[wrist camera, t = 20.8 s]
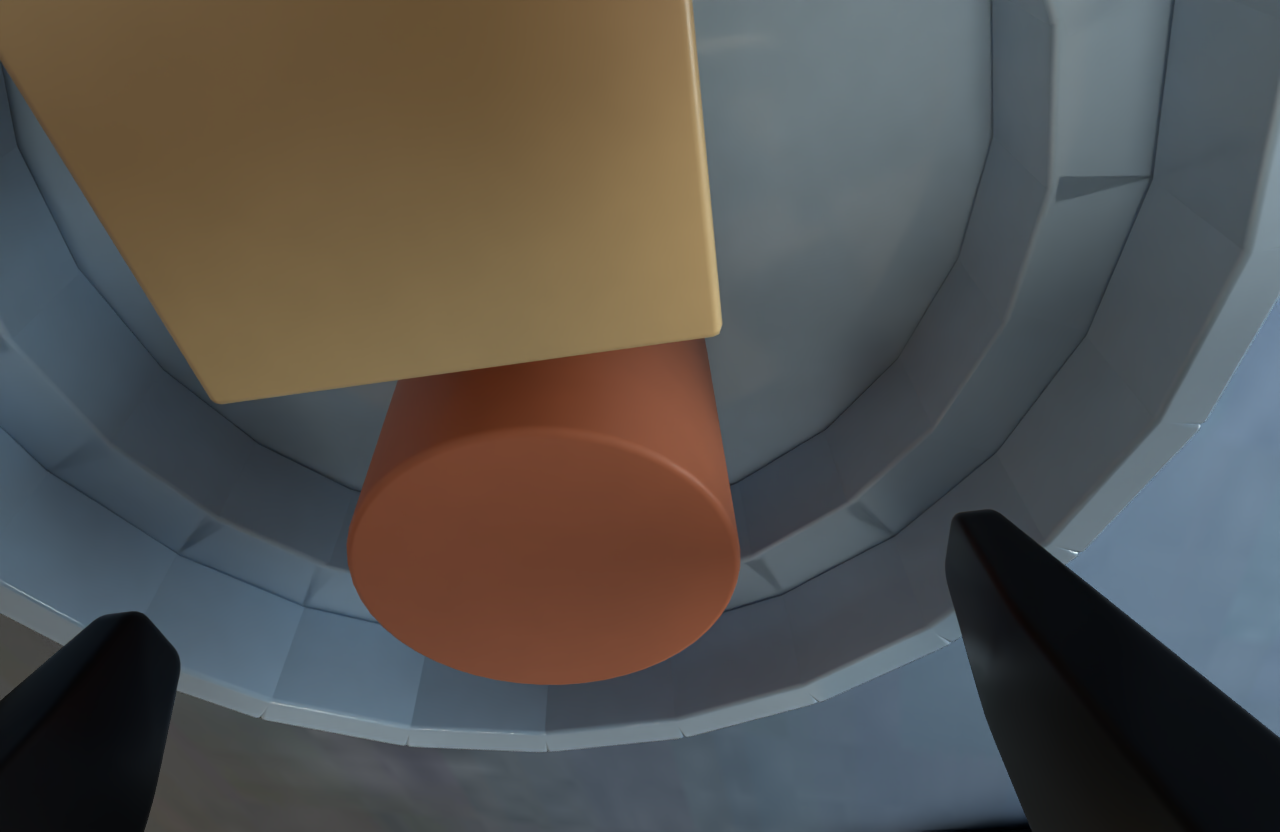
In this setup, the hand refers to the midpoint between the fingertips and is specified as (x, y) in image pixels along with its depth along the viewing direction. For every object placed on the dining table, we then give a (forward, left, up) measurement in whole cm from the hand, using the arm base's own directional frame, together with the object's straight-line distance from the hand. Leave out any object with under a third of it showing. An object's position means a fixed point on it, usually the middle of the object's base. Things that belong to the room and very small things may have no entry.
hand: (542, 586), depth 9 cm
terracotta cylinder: (0, 0, -4) cm, 4 cm away
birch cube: (+5, 0, -4) cm, 7 cm away
